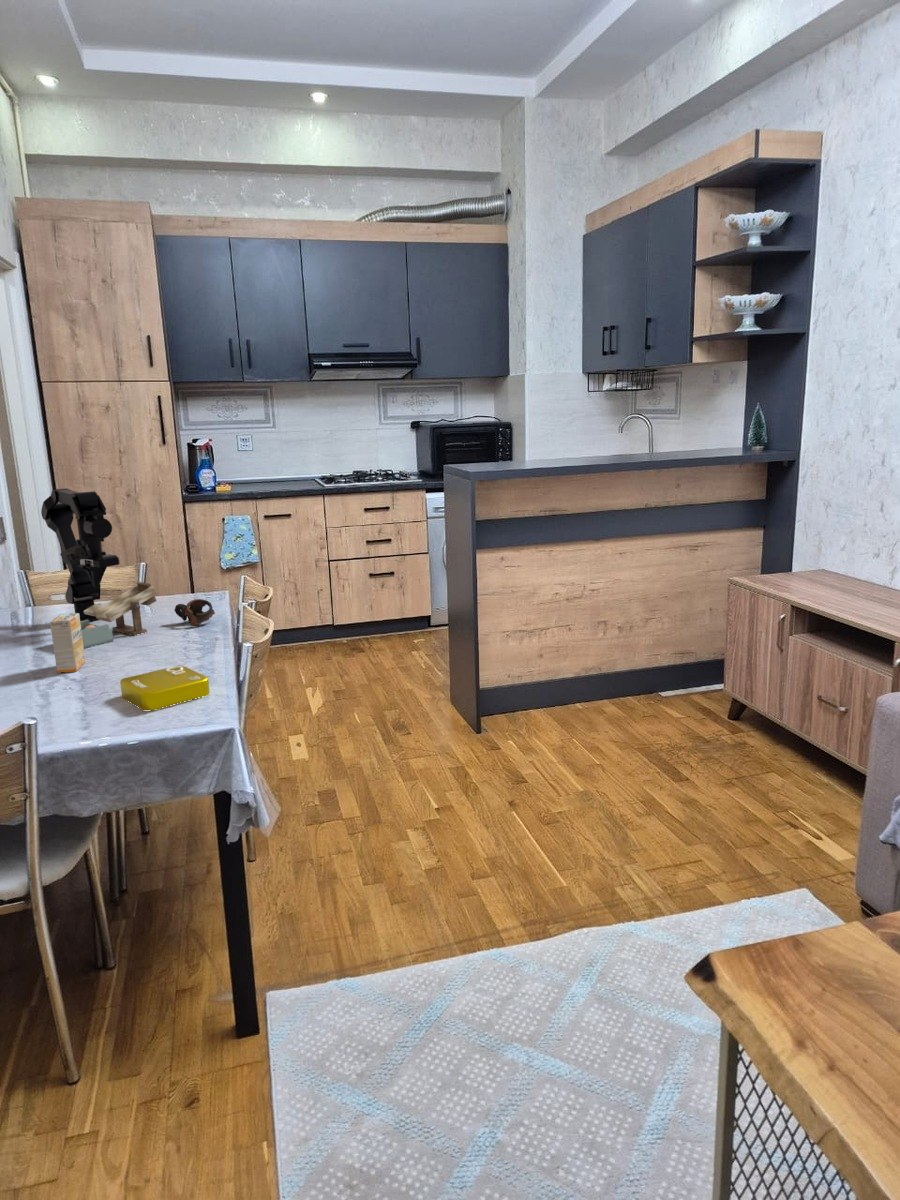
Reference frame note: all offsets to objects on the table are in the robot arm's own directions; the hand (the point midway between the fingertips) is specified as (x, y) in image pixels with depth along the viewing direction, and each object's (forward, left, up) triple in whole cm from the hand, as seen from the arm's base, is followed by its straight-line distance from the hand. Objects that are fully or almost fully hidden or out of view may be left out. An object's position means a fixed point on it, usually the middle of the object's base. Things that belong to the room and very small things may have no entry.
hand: (96, 587), depth 235 cm
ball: (+13, -11, -9) cm, 19 cm away
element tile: (+71, -27, -13) cm, 77 cm away
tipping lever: (+9, +2, -6) cm, 11 cm away
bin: (+13, -13, -12) cm, 22 cm away
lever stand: (+13, +1, -12) cm, 18 cm away
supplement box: (+32, -27, -12) cm, 44 cm away
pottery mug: (+22, +17, -12) cm, 30 cm away
